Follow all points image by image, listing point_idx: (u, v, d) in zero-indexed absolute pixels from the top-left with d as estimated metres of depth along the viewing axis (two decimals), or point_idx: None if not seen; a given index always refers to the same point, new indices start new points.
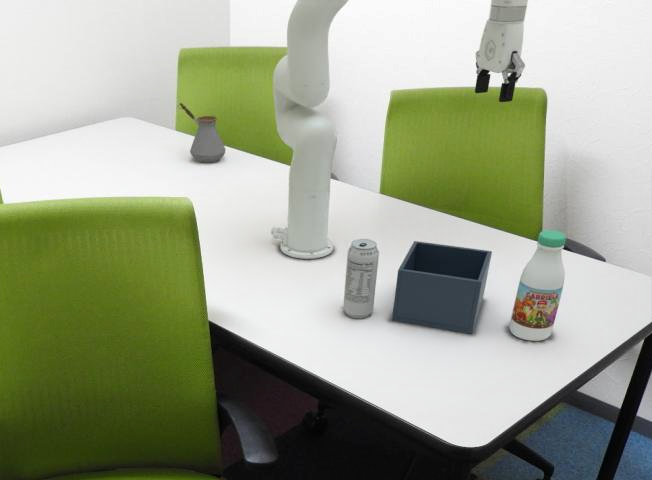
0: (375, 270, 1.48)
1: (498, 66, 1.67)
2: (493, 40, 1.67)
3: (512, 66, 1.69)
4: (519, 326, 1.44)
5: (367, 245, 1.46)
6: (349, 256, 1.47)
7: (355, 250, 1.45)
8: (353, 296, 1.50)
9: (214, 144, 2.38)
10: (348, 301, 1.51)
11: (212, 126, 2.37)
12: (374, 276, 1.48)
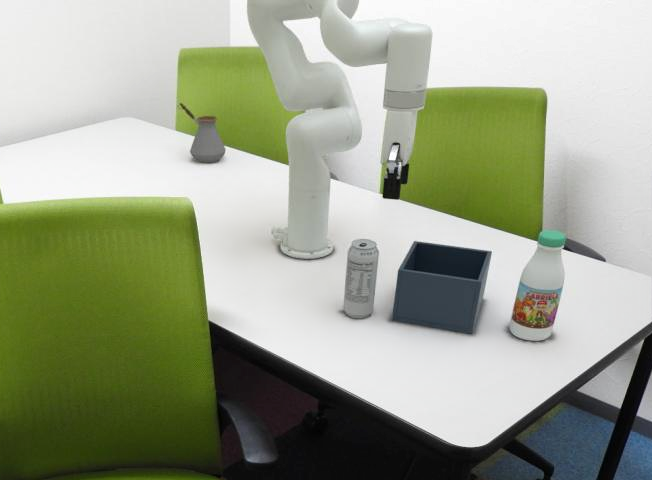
0: (375, 270, 1.48)
1: None
2: None
3: (400, 159, 1.42)
4: (519, 326, 1.43)
5: (367, 245, 1.46)
6: (349, 256, 1.47)
7: (355, 250, 1.45)
8: (353, 296, 1.50)
9: (214, 144, 2.38)
10: (348, 301, 1.51)
11: (212, 126, 2.37)
12: (374, 276, 1.48)
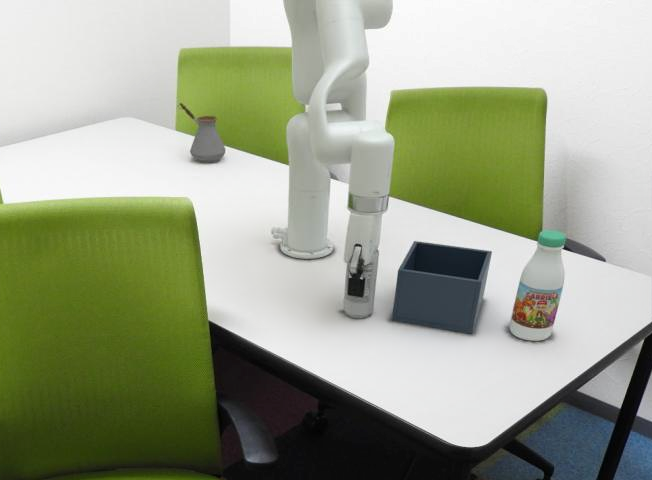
0: (375, 270, 1.48)
1: None
2: None
3: None
4: (519, 326, 1.44)
5: None
6: None
7: None
8: (353, 296, 1.50)
9: (214, 144, 2.38)
10: (348, 301, 1.51)
11: (212, 126, 2.37)
12: (374, 276, 1.48)
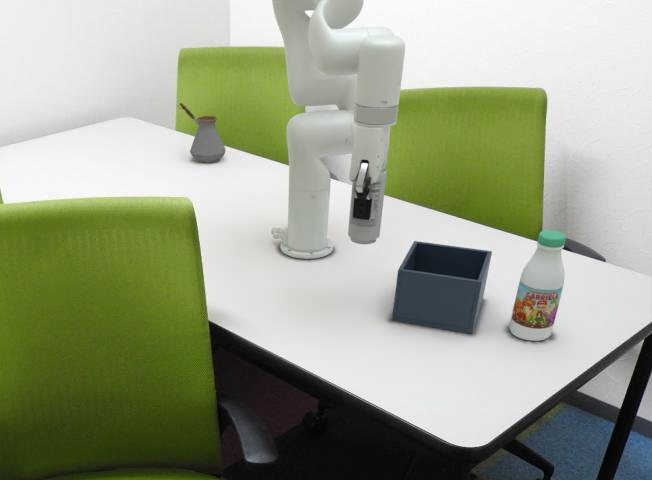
0: (382, 191, 1.39)
1: (350, 173, 1.36)
2: None
3: None
4: (519, 326, 1.43)
5: None
6: None
7: None
8: (359, 220, 1.42)
9: (214, 144, 2.38)
10: (353, 225, 1.43)
11: (212, 126, 2.37)
12: (381, 197, 1.40)
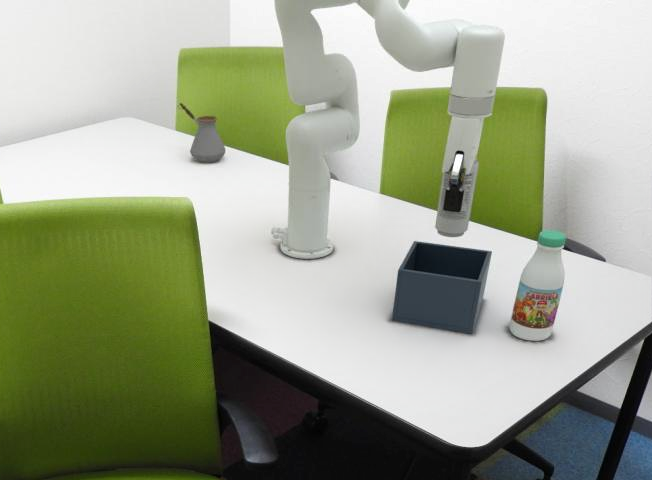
0: (474, 183, 1.38)
1: None
2: None
3: (464, 170, 1.36)
4: (519, 326, 1.43)
5: None
6: None
7: None
8: (449, 212, 1.41)
9: (214, 144, 2.38)
10: (442, 218, 1.42)
11: (212, 126, 2.37)
12: (472, 189, 1.39)
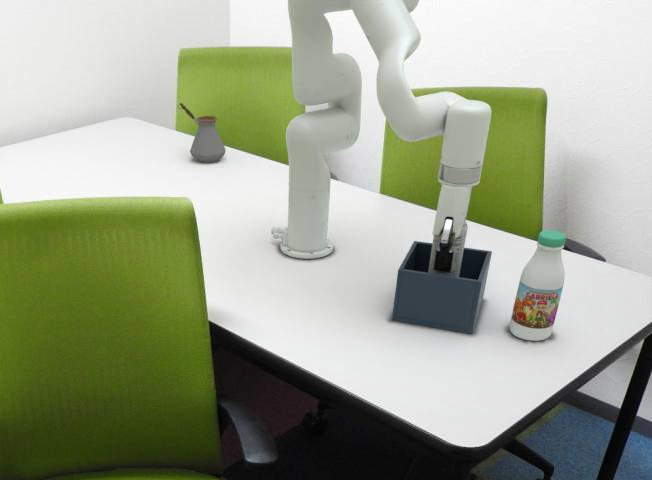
0: (463, 244, 1.45)
1: (433, 228, 1.43)
2: None
3: None
4: (519, 326, 1.43)
5: None
6: None
7: None
8: (440, 271, 1.48)
9: (214, 144, 2.38)
10: None
11: (212, 126, 2.37)
12: (462, 250, 1.46)
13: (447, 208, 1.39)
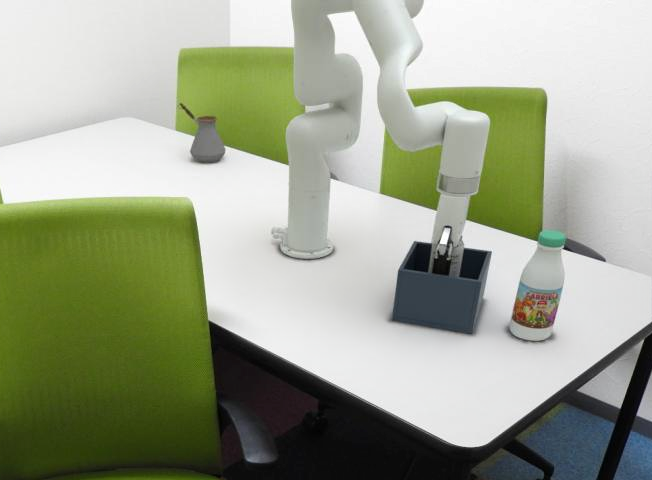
0: (460, 262, 1.47)
1: None
2: None
3: (451, 241, 1.43)
4: (519, 326, 1.43)
5: None
6: (434, 248, 1.46)
7: None
8: None
9: (214, 144, 2.38)
10: None
11: (212, 126, 2.37)
12: (459, 268, 1.48)
13: (446, 217, 1.40)
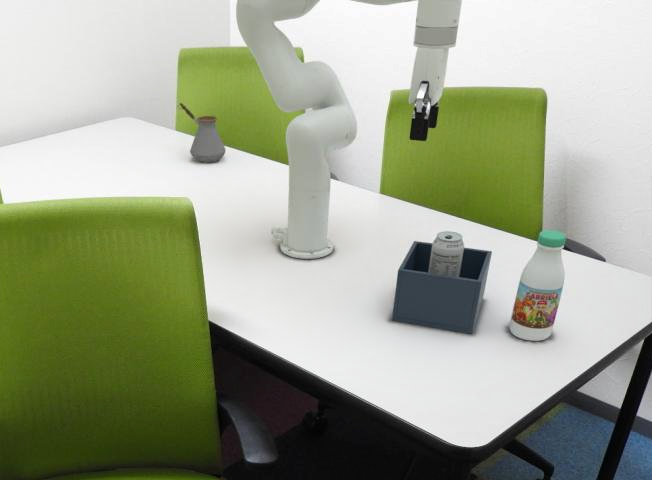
0: (460, 262, 1.47)
1: (409, 96, 1.40)
2: None
3: None
4: (519, 326, 1.44)
5: (452, 237, 1.46)
6: (434, 248, 1.46)
7: (442, 242, 1.45)
8: None
9: (214, 144, 2.38)
10: None
11: (212, 126, 2.37)
12: (459, 268, 1.48)
13: (422, 72, 1.36)
